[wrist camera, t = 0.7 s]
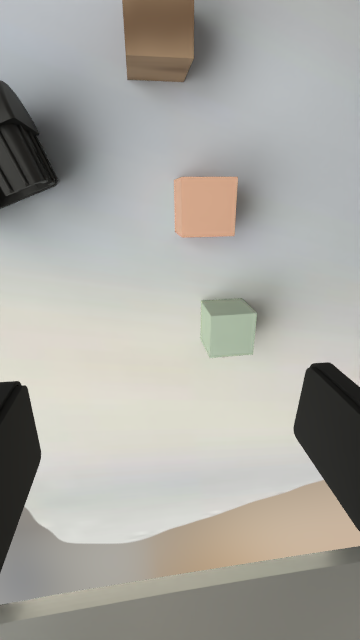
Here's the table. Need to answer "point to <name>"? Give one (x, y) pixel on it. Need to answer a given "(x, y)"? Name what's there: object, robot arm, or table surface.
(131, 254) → the table surface
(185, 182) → the terracotta block
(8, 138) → the black claw piece
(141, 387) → the table surface
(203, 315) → the sage block
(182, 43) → the walnut block
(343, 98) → the table surface
